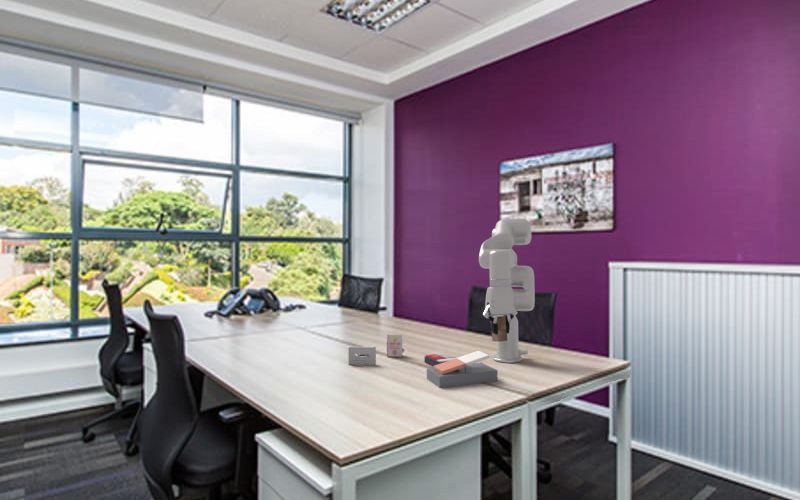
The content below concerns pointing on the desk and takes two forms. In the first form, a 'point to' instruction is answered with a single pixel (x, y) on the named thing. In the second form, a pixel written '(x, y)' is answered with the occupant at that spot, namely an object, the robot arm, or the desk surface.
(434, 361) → the calculator
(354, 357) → the cassette
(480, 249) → the robot arm
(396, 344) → the white cardboard box
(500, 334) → the peg
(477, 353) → the breaker rocker
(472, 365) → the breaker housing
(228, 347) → the desk surface
